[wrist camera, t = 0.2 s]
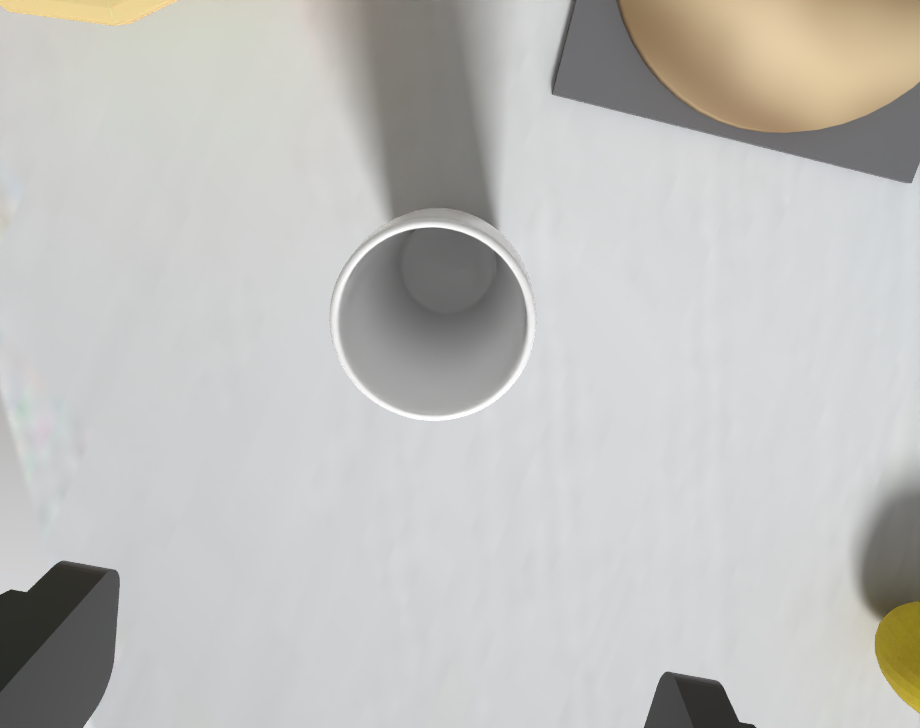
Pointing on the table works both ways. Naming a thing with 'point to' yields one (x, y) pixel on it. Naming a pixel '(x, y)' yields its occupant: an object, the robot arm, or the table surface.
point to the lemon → (901, 651)
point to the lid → (779, 57)
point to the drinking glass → (433, 315)
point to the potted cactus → (88, 9)
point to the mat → (639, 93)
